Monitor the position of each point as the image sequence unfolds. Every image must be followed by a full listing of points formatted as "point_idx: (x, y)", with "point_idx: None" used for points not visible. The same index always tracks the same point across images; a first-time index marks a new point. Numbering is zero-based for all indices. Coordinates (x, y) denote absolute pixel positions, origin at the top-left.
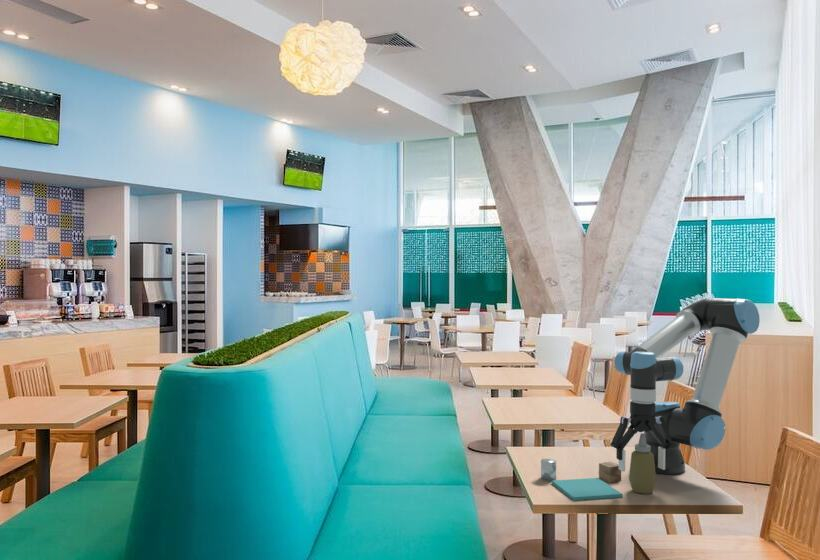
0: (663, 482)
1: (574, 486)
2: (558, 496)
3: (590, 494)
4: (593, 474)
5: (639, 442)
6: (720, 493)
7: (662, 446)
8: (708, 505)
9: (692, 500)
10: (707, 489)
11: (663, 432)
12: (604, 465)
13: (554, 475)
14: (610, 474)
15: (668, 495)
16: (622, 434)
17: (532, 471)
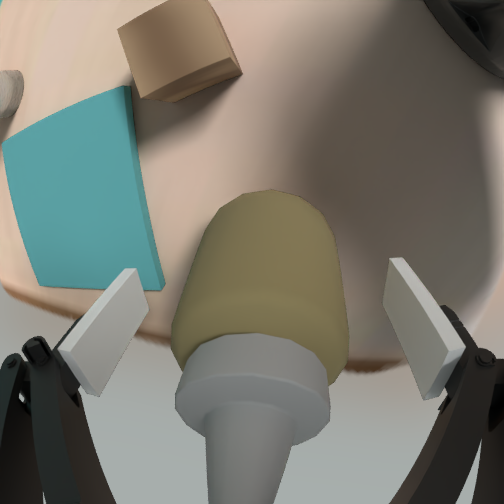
0: (425, 142)
1: (37, 199)
2: (19, 247)
3: (70, 275)
4: (151, 4)
5: (207, 448)
6: (494, 286)
7: (455, 379)
8: (394, 364)
9: (386, 333)
10: (496, 250)
11: (485, 493)
12: (128, 62)
13: (4, 111)
14: (163, 98)
15: (346, 289)
16: (36, 475)
17: (4, 36)
